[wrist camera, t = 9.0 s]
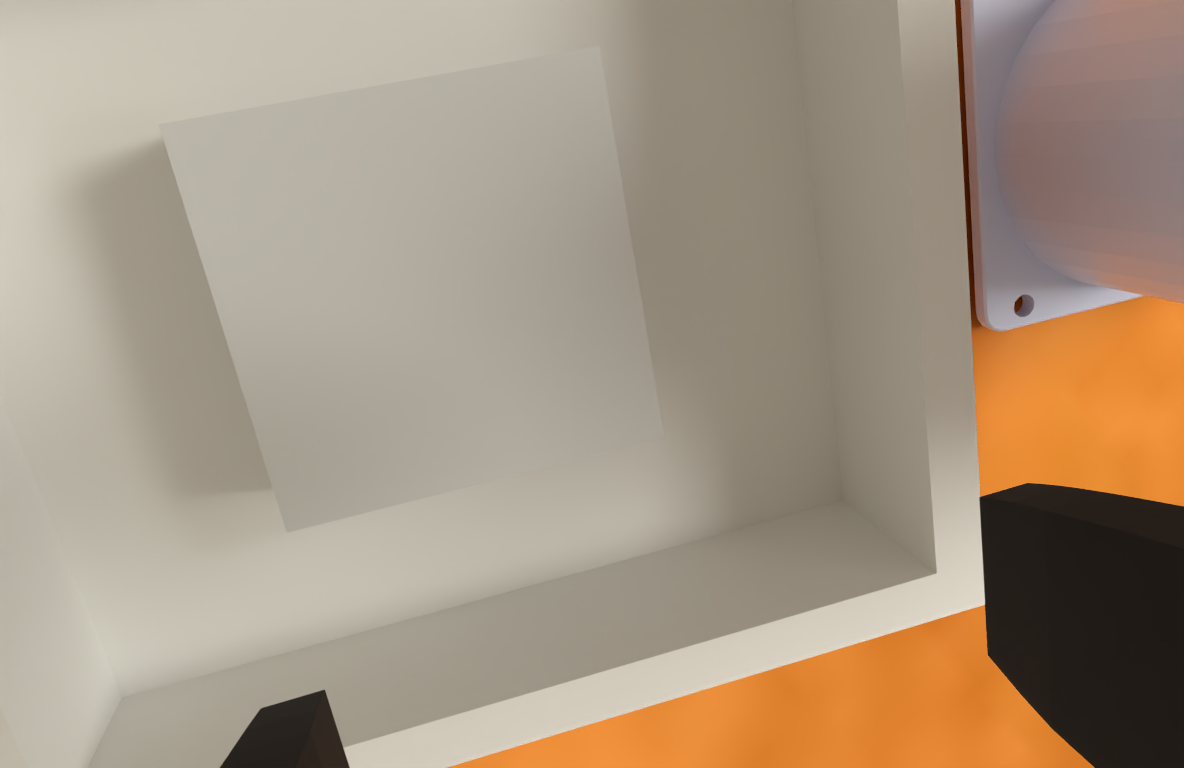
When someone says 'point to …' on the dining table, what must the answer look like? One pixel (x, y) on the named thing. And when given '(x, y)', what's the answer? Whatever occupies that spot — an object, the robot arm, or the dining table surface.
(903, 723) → the dining table surface
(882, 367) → the grey crate
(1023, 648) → the robot arm
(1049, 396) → the dining table surface
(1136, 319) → the dining table surface
